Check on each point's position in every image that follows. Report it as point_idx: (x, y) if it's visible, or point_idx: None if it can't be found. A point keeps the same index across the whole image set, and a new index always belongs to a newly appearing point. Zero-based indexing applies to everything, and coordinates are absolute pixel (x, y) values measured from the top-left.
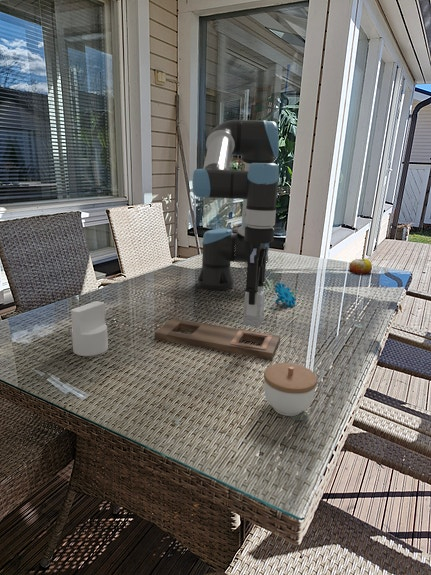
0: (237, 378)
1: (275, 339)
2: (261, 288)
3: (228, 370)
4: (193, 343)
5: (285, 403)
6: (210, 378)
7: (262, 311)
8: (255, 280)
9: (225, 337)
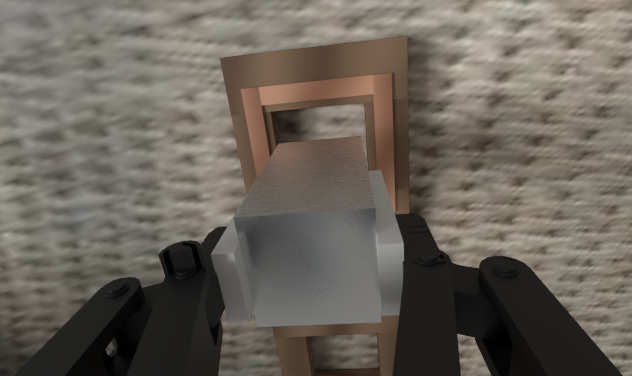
0: (581, 107)
1: (268, 67)
2: (236, 252)
3: (533, 153)
4: None
5: None
6: (601, 183)
7: (300, 160)
8: (606, 360)
9: None
